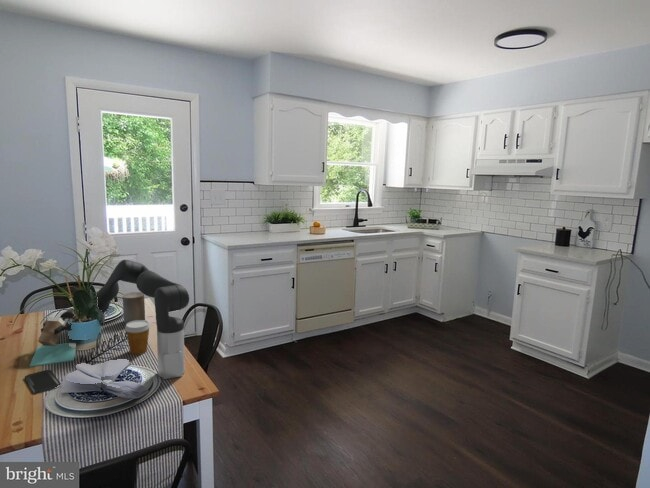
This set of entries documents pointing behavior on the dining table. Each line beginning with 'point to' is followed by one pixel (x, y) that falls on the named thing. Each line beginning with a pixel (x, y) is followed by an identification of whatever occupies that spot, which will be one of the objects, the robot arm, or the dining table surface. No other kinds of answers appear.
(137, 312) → the pillar candle
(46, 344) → the walnut block
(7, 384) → the dining table surface
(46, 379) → the phone
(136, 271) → the robot arm
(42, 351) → the teal mat
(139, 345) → the disposable coffee cup
